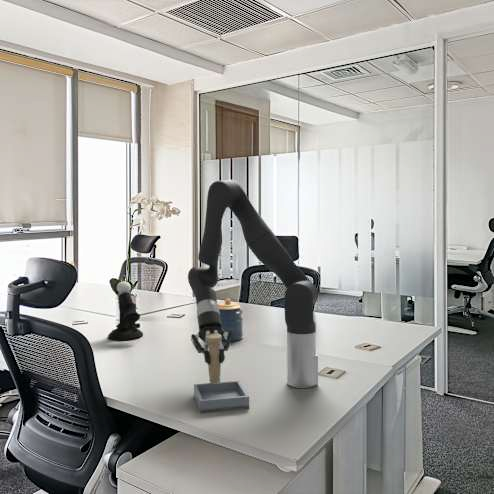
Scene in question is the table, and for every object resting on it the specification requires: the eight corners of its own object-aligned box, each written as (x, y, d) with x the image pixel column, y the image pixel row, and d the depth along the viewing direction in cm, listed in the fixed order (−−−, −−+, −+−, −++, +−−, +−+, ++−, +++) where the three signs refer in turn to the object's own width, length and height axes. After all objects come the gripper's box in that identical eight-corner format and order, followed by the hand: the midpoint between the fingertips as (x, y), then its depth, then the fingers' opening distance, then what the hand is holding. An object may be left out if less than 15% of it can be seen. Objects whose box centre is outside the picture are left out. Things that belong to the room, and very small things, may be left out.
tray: (239, 391, 158) (239, 380, 158) (249, 408, 144) (249, 396, 144) (194, 395, 155) (193, 384, 155) (200, 413, 141) (199, 401, 141)
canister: (209, 341, 220) (208, 300, 218) (219, 334, 232) (218, 295, 231) (237, 343, 216) (237, 301, 215) (246, 335, 228) (246, 296, 227)
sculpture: (137, 331, 239) (136, 278, 238) (153, 342, 219) (151, 284, 217) (104, 335, 232) (102, 280, 230) (117, 347, 211) (116, 287, 210)
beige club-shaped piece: (221, 378, 165) (220, 332, 164) (223, 385, 158) (222, 337, 157) (206, 379, 164) (205, 333, 163) (208, 386, 158) (206, 338, 157)
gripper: (188, 311, 165) (193, 358, 154) (230, 308, 168) (239, 354, 157) (186, 324, 171) (192, 370, 160) (228, 321, 174) (236, 366, 163)
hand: (215, 362), depth 159 cm, fingers closed on beige club-shaped piece, 3 cm apart
